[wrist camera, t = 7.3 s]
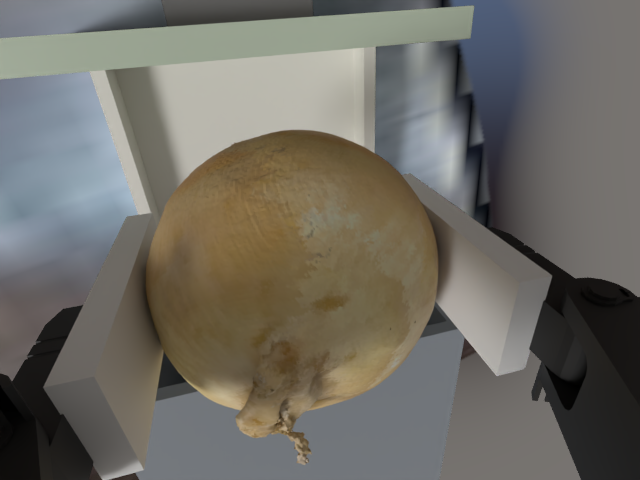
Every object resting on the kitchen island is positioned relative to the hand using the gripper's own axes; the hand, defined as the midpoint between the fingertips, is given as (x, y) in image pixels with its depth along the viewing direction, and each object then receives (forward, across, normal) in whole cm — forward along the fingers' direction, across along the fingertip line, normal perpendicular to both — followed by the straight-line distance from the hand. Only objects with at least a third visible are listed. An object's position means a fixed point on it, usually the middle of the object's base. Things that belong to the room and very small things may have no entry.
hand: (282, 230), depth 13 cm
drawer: (+10, 0, 0) cm, 10 cm away
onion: (+1, 0, 0) cm, 1 cm away
